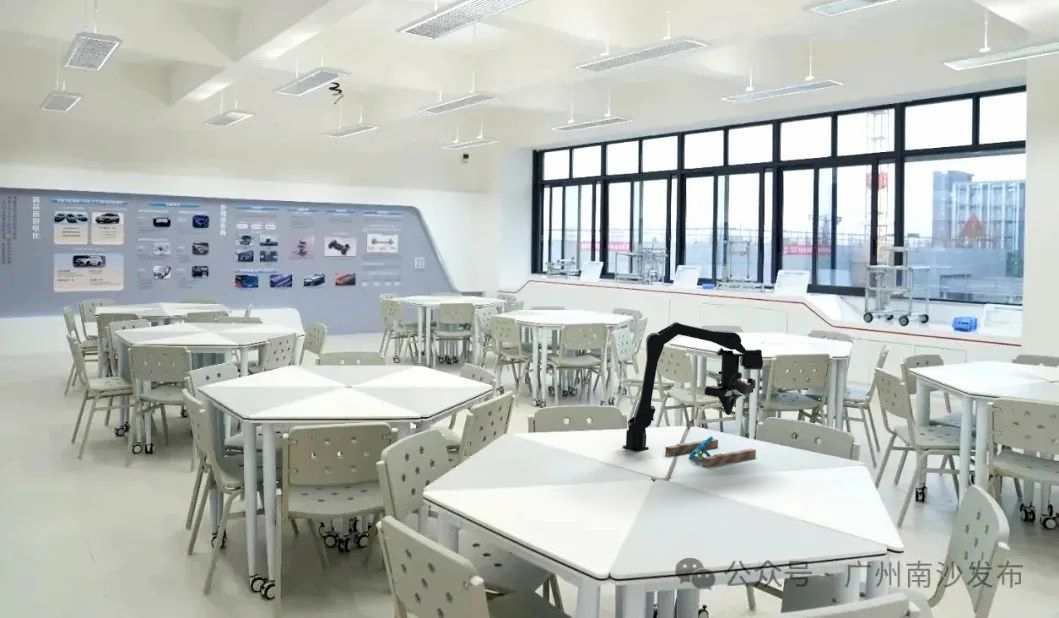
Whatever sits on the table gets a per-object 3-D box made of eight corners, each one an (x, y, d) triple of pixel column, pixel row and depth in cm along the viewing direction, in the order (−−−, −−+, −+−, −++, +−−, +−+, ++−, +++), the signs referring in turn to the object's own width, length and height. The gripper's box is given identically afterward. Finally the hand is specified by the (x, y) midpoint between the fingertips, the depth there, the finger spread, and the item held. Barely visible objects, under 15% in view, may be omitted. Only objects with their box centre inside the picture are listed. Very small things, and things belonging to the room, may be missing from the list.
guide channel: (707, 467, 252) (707, 458, 251) (665, 454, 266) (665, 446, 266) (755, 457, 266) (756, 448, 266) (713, 445, 280) (713, 437, 280)
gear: (692, 448, 269) (713, 430, 264) (704, 461, 268) (726, 444, 263) (682, 459, 259) (704, 442, 255) (695, 473, 258) (717, 456, 254)
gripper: (730, 374, 257) (729, 422, 258) (767, 370, 268) (765, 416, 269) (704, 369, 265) (702, 416, 267) (740, 365, 277) (738, 410, 278)
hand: (728, 414), depth 270 cm, fingers closed
